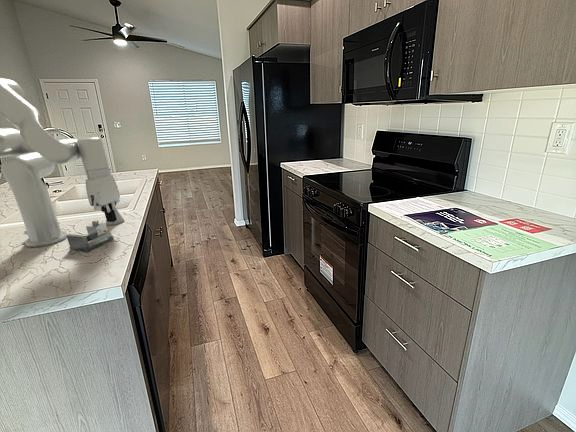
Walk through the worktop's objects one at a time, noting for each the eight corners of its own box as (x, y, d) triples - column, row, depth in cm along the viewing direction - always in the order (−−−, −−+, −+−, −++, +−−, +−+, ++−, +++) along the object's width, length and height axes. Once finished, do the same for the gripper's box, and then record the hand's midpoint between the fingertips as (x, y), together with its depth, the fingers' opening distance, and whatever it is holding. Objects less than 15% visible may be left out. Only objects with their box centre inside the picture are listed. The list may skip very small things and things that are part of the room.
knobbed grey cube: (98, 234, 115) (94, 219, 113) (112, 236, 113) (108, 220, 111) (89, 239, 112) (85, 223, 110) (103, 240, 110) (99, 224, 108)
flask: (102, 222, 132) (97, 200, 128) (120, 218, 136) (115, 196, 133) (109, 226, 127) (103, 203, 123) (127, 221, 132) (122, 199, 128)
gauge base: (96, 237, 116) (93, 223, 115) (113, 239, 114) (110, 225, 112) (70, 250, 107) (65, 235, 105) (88, 252, 104) (83, 237, 102)
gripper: (106, 168, 118) (119, 213, 125) (71, 178, 105) (87, 228, 111) (122, 168, 116) (134, 214, 123) (88, 178, 103) (103, 229, 109)
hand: (112, 221), depth 117 cm, fingers closed
